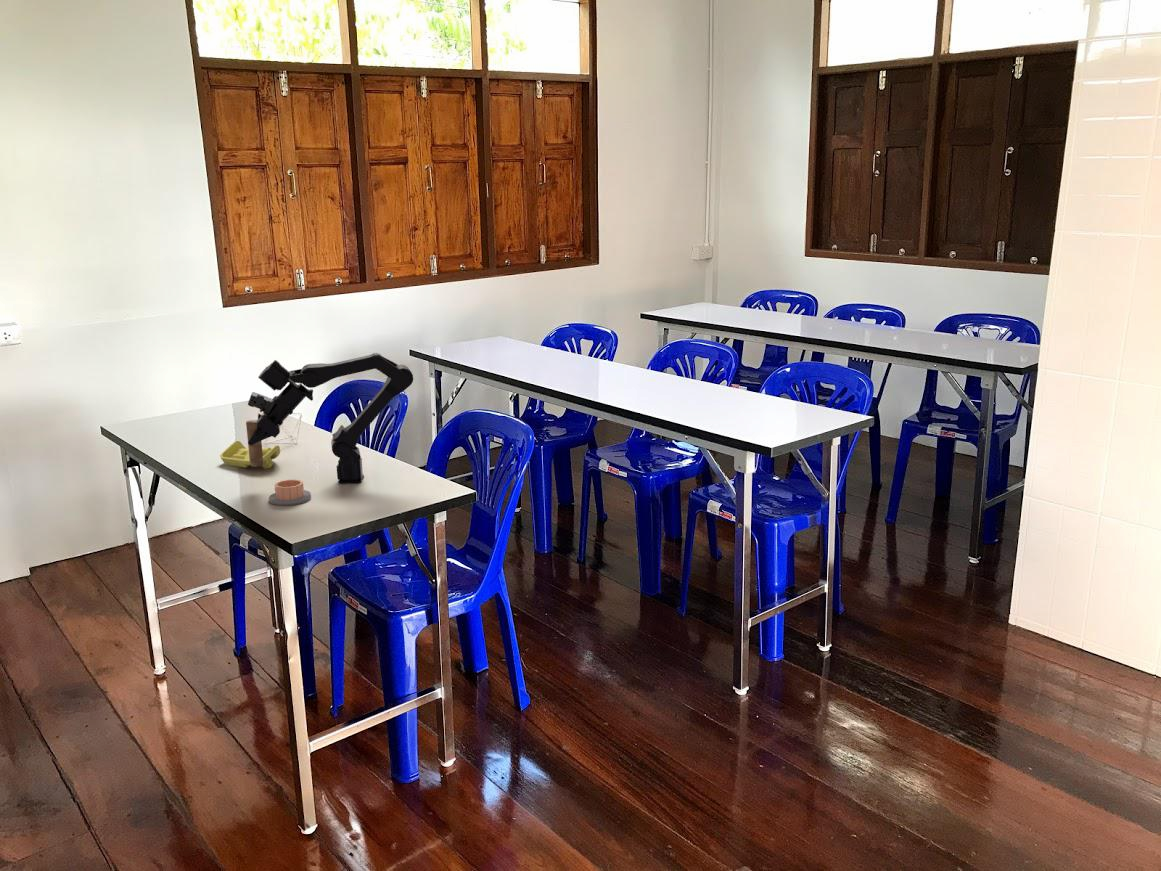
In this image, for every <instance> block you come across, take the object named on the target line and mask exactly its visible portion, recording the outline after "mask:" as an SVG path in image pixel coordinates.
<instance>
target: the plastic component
mask: <svg viewBox="0 0 1161 871" xmlns="http://www.w3.org/2000/svg"><path fill="white" fill-rule="evenodd" d="M262 452H263V463H264V464H263V465H262V466H261V467H262V468H263V469H269V468H271V467H272V466H274V461H273V460H275V459H276V458H278V457H279V456H280V454H281V447H280V445H278V444H276V445H274V446H273V447H264V448H262ZM219 457H220V460H221V461H222V462H223V464H224V465H225V466H230V467H231V466H232V467H239V468H248V467H249V466H250V458H249V448H246V447H245V445H244V444H243V443H242V442H241V441H239V440H235V441H233V442H232V444H230V445H229V446H228V447H227V448H225V450H224V451H223V452H221V454H220V455H219Z"/></svg>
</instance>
